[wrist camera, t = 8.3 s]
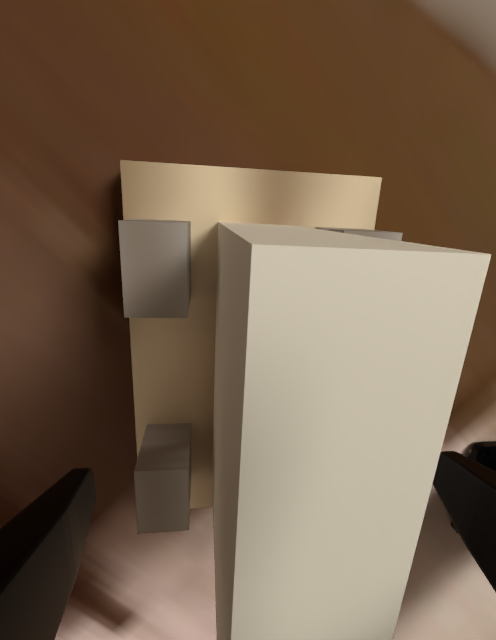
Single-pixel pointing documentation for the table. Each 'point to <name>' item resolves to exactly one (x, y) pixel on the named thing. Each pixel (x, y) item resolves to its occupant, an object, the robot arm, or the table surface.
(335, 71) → the table surface
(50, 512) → the robot arm
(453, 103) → the table surface
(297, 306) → the cabinet door panel
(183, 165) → the hinge clip plate
